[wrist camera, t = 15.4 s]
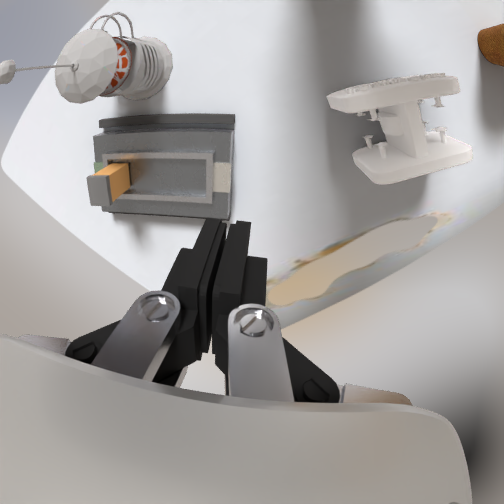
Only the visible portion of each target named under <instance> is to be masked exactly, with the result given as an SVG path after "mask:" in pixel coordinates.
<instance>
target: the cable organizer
mask: <svg viewBox="0 0 504 504" xmlns="http://www.w3.org/2000/svg"><path fill="white" fill-rule="evenodd" d="M459 92H460V87H459V83H458V79H457V77H454V76H445V73H434V74H427V75H414V76H406V77H400V78H392V79H386V80H382V81H378V82H374V83H369V84H362V85H357V86H353V87H349V88H345V89H343V90H340V91H336V92H333V93H331V94H329V95H327V99H328V102H329V105H330V108H332V109H336V110H339V111H342V112H345V113H358V115H357V116H363V115H365V114H366V113H364V114H363V112H365V111H370V114H371V118H372V119H368V120H371V121H376V120H379V121H380V124H381V127H382V130H383V132H384V133H385V137H386V142H380V143H378V144H375V145H372V142H371V138H373V137H372V136H374V135H366V136H364V138H365V139H366V143H367V147H364V148H361V149H358V150H356V151H354V152H353V153H352V156H353V160H354V163H355V165H356V166H357V167H358V168H359V169H360V170H361V171H362V172H363V173H364V174H365V175H366V176H367V177H368V178H369V179H370V180H371V181H372V182H373V183H375V184H380V185H386V184H393V183H398V182H401V181H404V180H408V179H411V178H415V177H418V176H422V175H425V174H429V173H433V172H436V171H440V170H443V169H447V168H451V167H454V166H458V165H462V164H465V163H468V162H470V161H472V159H473V153H472V147H471V146H470V145H469V144H466V143H464V142H462V141H459V140H457V139H454V138H452V137H450V136H447V135H445V131H447V130H445V129H447V128H445V127H437V128H434V129H431V130H436V132H426V128H425V123H426V122H428V121H422V118H421V113H420V109H419V105H418V103H425V102H423V101H422V99H428V98H435V103H436V105H435V104H434V105H433V106H434V107H445V106H442V104H441V100H440V96H447V95H453V94H457V93H459ZM375 109H378V111H379V113H378V114H376V110H375ZM377 115H378V117H377ZM426 124H429V123H426ZM439 132H440V133H439Z"/></svg>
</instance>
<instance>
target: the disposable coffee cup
mask: <svg viewBox="0 0 504 504" xmlns="http://www.w3.org/2000/svg"><path fill="white" fill-rule="evenodd" d="M478 44H479V47H480V50H481V52H482V54H483V55H484V57H485V58H486V59H487V60H488V61H489V62H491V63H493V64H497V65H500V66H504V24H502V25H501V24H500V25H497V26H493V27H490V28H487V29H483V30H481V31H480V32H479V34H478Z"/></svg>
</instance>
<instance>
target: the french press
mask: <svg viewBox="0 0 504 504" xmlns="http://www.w3.org/2000/svg"><path fill="white" fill-rule="evenodd" d="M117 14H119V15H121V16H123V17H125V18H126V19H127V20H128V22H129V24H130V28H131V35H132V38H129V37H125V36H122V33H121V28H120V24H119V23H118V21H117V20H116V19H115V18H114V17H112V16H113V15H117ZM102 17H108V18H107V19H106V20H105V21H104V23H103V25H102V27H101V29H92V27H93V25H94V24H95V23H96V21H97V20H98V19H100V18H102ZM109 18H112V19H113V20H114V21H115V22H116V23H117V24H118V27H119V31H120V36H118V37H120V38H118V37H112V36H111V35H110V34H108V33H107V31H104V30H103V28H104V26H105V24H106V22H107V20H108V19H109ZM122 37H123V38H127V39H130V40H131V41H128V40H124V39H123V38H122ZM55 67H56V69H55V80H56V86H57V88H58V90H59V92H60V94H61V96H62V97H64V98H65V99H66V100H68V101H69V102H73V103H80V104H81V103H85V102H88V101H91V100H94V99H95V98H96V97H97V96H101V97H112V96H120V95H122V96H124V97H125V98H127V99H133V100H141V99H146V98H150V97H151V96H153V95H154V94H156V93H157V92H159V91H160V90H161V89H162V88H163V86H164V85H165V84H166V82H167V81H168V80H169V77H170V74H171V71H172V67H173V64H172V54H171V52H170V50H169V49H168V47H167V45H166V44H165V43H163V42H162V41H160V40H159V39H157V38H153V37H141V38H134V36H133V27H132V23H131V21H130V19H129V18H128V17H127V16H126V15H125V14H123V13H120V12H116V13H113V14H111V15H110V16H109V15H103V16H100V17H98V18H97V19H96V20H95V21H94V22H93V23H92V25H91V26H90V28H89V29H87V30H85V31H83V32H80V33H78V34H76V35H75V36H74V37H73V38H72V39H71V40H70V41H69V42H68V43H67V44H66V45H65V46H64V48H63V50H62V52H61V53H60V55H59V57H58V60H57V64H56V65H53V66H39V67H29V68H21V69H15V62H14V61H13V60H8V61H3V62H2V63H1V64H0V84H8V83H9V82H10V81H11V80H12V78H13V77H14V74H15V72H16V71H22V70H31V69H41V68H55ZM115 90H116V91H115Z"/></svg>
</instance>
